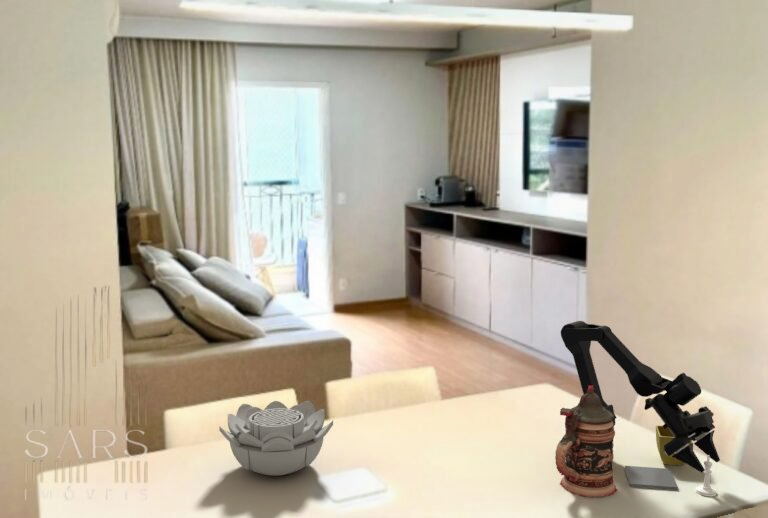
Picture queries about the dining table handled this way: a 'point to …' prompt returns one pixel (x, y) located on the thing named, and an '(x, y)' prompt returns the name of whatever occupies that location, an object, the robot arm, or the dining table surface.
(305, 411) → the decorative bowl
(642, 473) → the slate tile
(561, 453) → the beer stein
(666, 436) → the flower pot
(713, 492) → the chess piece
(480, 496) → the dining table surface
